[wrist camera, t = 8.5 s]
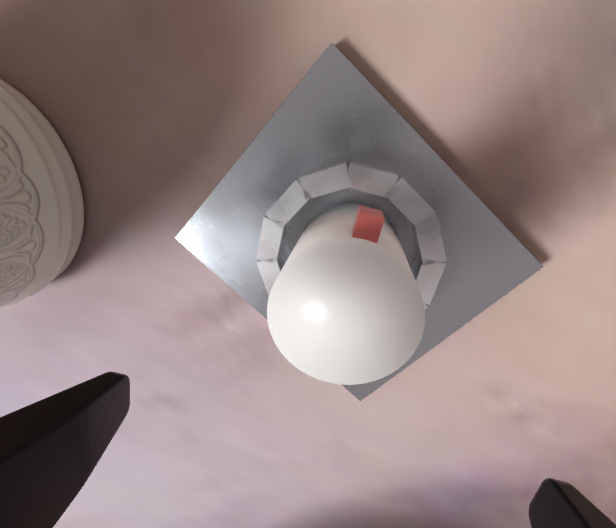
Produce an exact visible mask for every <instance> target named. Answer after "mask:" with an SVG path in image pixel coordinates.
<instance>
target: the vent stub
mask: <svg viewBox="0 0 616 528" xmlns="http://www.w3.org/2000/svg"><path fill="white" fill-rule="evenodd" d="M267 320H268V326H269V330H270V333H271V336H272V338H273V340H274V342H275V344H276V346H277V347H278V349H279V351H280V352H281V353H282V354H283V356H284V357H285V358H286V359H287V360H288V361H289V362H290V363H291V364H292V365H294V366H295V367H296V368H298V369H299V370H300V371H302V372H304V373H305V374H307V375H309V376H311V377H314V378H316V379H319V380H322V381H325V382H329V383H334V384H342V385H356V384H364V383H368V382H373V381H376V380H379V379H381V378H384V377H386V376H388V375H390V374H391V373H393V372H394V371H396V370H398V369H399V368H400V367H401V366H402V365H404V364H405V363H406V362H407V361H408V359H409V358H410V357H411V356H412V355H413V353H414V352H415V350H416V349H417V347H418V345H419V343H420V341H421V338H422V335H423V332H424V326H425V308H424V302H423V299H422V296H421V293H420V290H419V288H418V285H417V283H416V280H415V278H414V276H413V273H412V271H411V268H410V266H409V264H408V261H407V259H406V256H405V254H404V251H403V249H402V247H401V244H400V242H399V239H398V237H397V234H396V232H395V230H394V228H393V227H392V225H391V224H390V222H389V221H388V220H387V219H386V218H385V217H384V214H383V212H382V211H381V210H377V209H373V208H370V207H368V206H365V205H361V204H356V203H343V204H338V205H334V206H331V207H328V208H326V209H324V210H322V211H321V212H320V213H318V214H317V215H316V216H315V217H314V218H312V220H311V221H310V222H309V223H308V225H307V226H306V228H305V230H304V231H303V233H302V235H301V237H300V238H299V240H298V242H297V244H296V245H295V247H294V249H293V251H292V252H291V254H290V256H289V258H288V259H287V261H286V263H285V265H284V266H283V268H282V270H281V272H280V273H279V275H278V277H277V279H276V280H275V282H274V284H273V287H272V289H271V291H270V295H269V298H268V305H267Z"/></svg>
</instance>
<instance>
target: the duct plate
mask: <svg viewBox="0 0 616 528" xmlns="http://www.w3.org/2000/svg"><path fill="white" fill-rule="evenodd" d="M343 203H356V204H361V205H365V206H368V207H370V208H373V209H377V210H381V211H382V212H383V214H384V217H385V218H386V219H387V220H388V221H389V222H390V224H391V225H392V227H393V228H394V230H395V232H396V234H397V237H398V239H399V242H400V244H401V247H402V249H403V251H404V254H405V256H406V259H407V261H408V264H409V266H410V268H411V271H412V273H413V276H414V278H415V280H416V283H417V285H418V288H419V290H420V293H421V296H422V299H423V302H424V308H425V326H424V332H423V335H422V338H421V341H420V343H419V345H418V347H417V349H416V350H415V352H414V353H413V355H412V356H411V357H410V358H409V359H408V361H407V362H406V363H405V364H404V365H402V366H401V367H400V368H399V369H398V370H396V371H394V372H393V373H391V374H390V375H388V376H386V377H384V378H381V379H379V380H376V381H373V382H368V383H364V384H356V385H343V386H344V387H345V388H346V389H347V390H348V391H350V392H351V393H352V394H353V395H354V396H355V397H356V398H358V399H359V400H360V401H361V400H362V399H364V398H365V397H366V396H368V395H369V394H371V393H372V392H373V391H375V390H376V389H377V388H379V387H380V386H381V385H383V384H384V383H386V382H387V381H388V380H390V379H391V378H392V377H394V376H395V375H396V374H398V373H399V372H401V371H402V370H403V369H405V368H406V367H407V366H409V365H410V364H411V363H413V362H414V361H416V360H417V359H418V358H420V357H421V356H422V355H424V354H425V353H426V352H428V351H429V350H431V349H432V348H433V347H435V346H436V345H437V344H439V343H440V342H442V341H443V340H444V339H446V338H447V337H448V336H450V335H451V334H452V333H454V332H455V331H457V330H458V329H459V328H461V327H462V326H463V325H465V324H466V323H467V322H469V321H470V320H472V319H473V318H474V317H476V316H477V315H478V314H480V313H481V312H482V311H484V310H485V309H487V308H488V307H489V306H491V305H492V304H493V303H495V302H496V301H497V300H499V299H500V298H502V297H503V296H504V295H506V294H507V293H508V292H510V291H511V290H513V289H514V288H515V287H517V286H518V285H519V284H521V283H522V282H523V281H525V280H526V279H528V278H529V277H530V276H532V275H533V274H534V273H536V272H537V271H538V270H540V269H541V268H543V266H542V265H541V264H540V263H539V262H538V261H537V259H536V258H535V257H534V256H533V255H532V254H531V253H530V252H529V251H528V250H527V249H526V248H525V247H524V246H523V245H522V244H521V243H520V241H519V240H518V239H517V238H516V237H515V236H514V235H513V234H512V233H511V232H510V231H509V230H508V229H507V228H506V227H505V226H504V225H503V223H502V222H501V221H500V220H499V219H498V218H497V217H496V216H495V215H494V214H493V213H492V212H491V211H490V210H489V209H488V208H487V206H486V205H485V204H484V203H483V202H482V201H481V200H480V199H479V198H478V197H477V196H476V195H475V194H474V193H473V192H472V191H471V190H470V188H469V187H468V186H467V185H466V184H465V183H464V182H463V181H462V180H461V179H460V178H459V177H458V176H457V175H456V174H455V173H454V171H453V170H452V169H451V168H450V167H449V166H448V165H447V164H446V163H445V162H444V161H443V160H442V159H441V158H440V157H439V156H438V155H437V153H436V152H435V151H434V150H433V149H432V148H431V147H430V146H429V145H428V144H427V143H426V142H425V141H424V140H423V139H422V138H421V136H420V135H419V134H418V133H417V132H416V131H415V130H414V129H413V128H412V127H411V126H410V125H409V124H408V123H407V122H406V121H405V120H404V118H403V117H402V116H401V115H400V114H399V113H398V112H397V111H396V110H395V109H394V108H393V107H392V106H391V105H390V104H389V103H388V102H387V100H386V99H385V98H384V97H383V96H382V95H381V94H380V93H379V92H378V91H377V90H376V89H375V88H374V87H373V86H372V85H371V83H370V82H369V81H368V80H367V79H366V78H365V77H364V76H363V75H362V74H361V73H360V72H359V71H358V70H357V69H356V68H355V67H354V65H353V64H352V63H351V62H350V61H349V60H348V59H347V58H346V57H345V56H344V55H343V54H342V53H341V52H340V51H339V50H338V48H337V47H336V46H335V45H334V44H333V43H331V44H330V45H329V47H328V48H327V49H326V50H325V52H324V53H323V54H322V55H321V57H320V58H319V59H318V60H317V62H316V63H315V64H314V65H313V67H312V68H311V69H310V70H309V72H308V73H307V74H306V75H305V77H304V78H303V79H302V80H301V82H300V83H299V84H298V85H297V87H296V88H295V89H294V90H293V91H292V93H291V94H290V95H289V96H288V98H287V99H286V100H285V101H284V103H283V104H282V105H281V106H280V108H279V109H278V110H277V111H276V113H275V114H274V115H273V116H272V118H271V119H270V120H269V121H268V123H267V124H266V125H265V126H264V128H263V129H262V130H261V131H260V133H259V134H258V135H257V136H256V138H255V139H254V140H253V141H252V143H251V144H250V145H249V146H248V148H247V149H246V150H245V151H244V153H243V154H242V155H241V156H240V158H239V159H238V160H237V161H236V163H235V164H234V165H233V166H232V168H231V169H230V170H229V171H228V173H227V174H226V175H225V176H224V177H223V179H222V180H221V181H220V182H219V184H218V185H217V186H216V187H215V189H214V190H213V191H212V192H211V194H210V195H209V196H208V197H207V199H206V200H205V201H204V202H203V204H202V205H201V206H200V207H199V209H198V210H197V211H196V212H195V214H194V215H193V216H192V217H191V219H190V220H189V221H188V222H187V224H186V225H185V226H184V227H183V229H182V230H181V231H180V232H179V234H178V235H177V236H176V237H175V239H176V240H178V241H179V242H180V243H181V244H182V245H183V246H184V247H185V248H187V249H188V250H189V251H190V252H191V253H192V254H193V255H195V256H196V257H197V258H198V259H199V260H200V261H201V262H203V263H204V264H205V265H206V266H207V267H208V268H209V269H211V270H212V271H213V272H214V273H215V274H216V275H217V276H219V277H220V278H221V279H222V280H223V281H224V282H225V283H227V284H228V285H229V286H230V287H231V288H232V289H233V290H234V291H236V292H237V293H238V294H239V295H240V296H241V297H242V298H244V299H245V300H246V301H247V302H248V303H249V304H250V305H252V306H253V307H254V308H255V309H256V310H257V311H258V312H260V313H261V314H262V315H263V316H264V317H265V318H266V319H267V305H268V298H269V295H270V291H271V289H272V287H273V284H274V282H275V280H276V279H277V277H278V275H279V273H280V272H281V270H282V268H283V266H284V265H285V263H286V261H287V259H288V258H289V256H290V254H291V252H292V251H293V249H294V247H295V245H296V244H297V242H298V240H299V238H300V237H301V235H302V233H303V231H304V230H305V228H306V226H307V225H308V223H309V222H310V221H311V220H312V218H314V217H315V216H316V215H317V214H318V213H320V212H321V211H322V210H324V209H326V208H328V207H331V206H334V205H338V204H343Z"/></svg>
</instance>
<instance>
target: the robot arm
mask: <svg viewBox="0 0 616 528" xmlns="http://www.w3.org/2000/svg"><path fill="white" fill-rule="evenodd" d="M129 406H130V380H129V377H128V376H127V375H124V374H120V373H116V372H107V373H104V374H102V375H100V376H97V377H95V378H93V379H90V380H88V381H85V382H83V383H81V384H78V385H76V386H74V387H71V388H69V389H67V390H64V391H62V392H59V393H57V394H55V395H52V396H50V397H48V398H45V399H43V400H40V401H38V402H36V403H33V404H31V405H29V406H26V407H24V408H22V409H19V410H17V411H14V412H12V413H10V414H7V415H5V416H3V417H0V528H53V527H54V525H55V524H56V522H57V521H58V520H59V518H60V517H61V516H62V514H63V513H64V512H65V510H66V509H67V507H68V506H69V505H70V503H71V502H72V501H73V499H74V498H75V497H76V495H77V494H78V492H79V491H80V490H81V488H82V487H83V485H84V484H85V482H86V481H87V479H88V477H89V476H90V474H91V473H92V471H93V469H94V468H95V466H96V465H97V463H98V461H99V460H100V458H101V456H102V455H103V453H104V451H105V450H106V448H107V446H108V445H109V443H110V441H111V440H112V438H113V436H114V435H115V433H116V431H117V430H118V428H119V427H120V425H121V423H122V422H123V420H124V418H125V417H126V415H127V413H128V410H129ZM529 518H530V523H531V527H532V528H616V525H615V524H614V523H613V522H612V521H611V520H610V519H609V518H608V517H607V516H606V515H604V514H603V513H602V512H601V511H600V510H599V509H598V508H597V507H596V506H594V505H593V504H592V503H591V502H590V501H589V500H588V499H587V498H586V497H585V496H583V495H582V494H581V493H580V492H579V491H578V490H577V489H576V488H575V487H573V486H572V485H571V484H569V483H567V482H564V481H560V480H555V479H551V478H547V479H545V480H544V481H543V482H542V484H541V485H540V487H539V489H538V491H537V492H536V494H535V496H534V497H533V499H532V501H531V503H530V506H529Z"/></svg>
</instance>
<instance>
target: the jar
mask: <svg viewBox="0 0 616 528" xmlns="http://www.w3.org/2000/svg"><path fill="white" fill-rule="evenodd" d="M83 227H84V204H83V197H82V191H81V186H80V183H79V179H78V176H77V173H76V170H75V167H74V165H73V162H72V160H71V158H70V156H69V154H68V152H67V150H66V148H65V146H64V144H63V142H62V141H61V139H60V137H59V136H58V134H57V133H56V131H55V130H54V128H53V127H52V126H51V124H50V123H49V122H48V120H47V119H46V118H45V117H44V115H43V114H42V113H41V112H40V111H39V110H38V109H37V108H36V107H35V106H34V105H33V104H32V103H31V102H30V101H29V100H28V99H27V98H26V97H25V96H24V95H22V94H21V93H20V92H19V91H18V90H16V89H15V88H14V87H12V86H11V85H9V84H8V83H6V82H5V81H3V80H2V79H0V308H2V307H6V306H9V305H12V304H15V303H17V302H19V301H21V300H23V299H25V298H27V297H29V296H32V295H33V294H35V293H37V292H39V291H40V290H42V289H43V288H44V287H46V286H47V285H48V284H49V283H50V282H51V281H52V280H53V279H55V278H56V277H58V276H59V275H60V274H61V273H62V272H63V271H64V270H65V269H66V268H67V267H68V266H69V264H70V263H71V262H72V260H73V258H74V257H75V255H76V253H77V251H78V248H79V245H80V242H81V238H82V233H83Z"/></svg>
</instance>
